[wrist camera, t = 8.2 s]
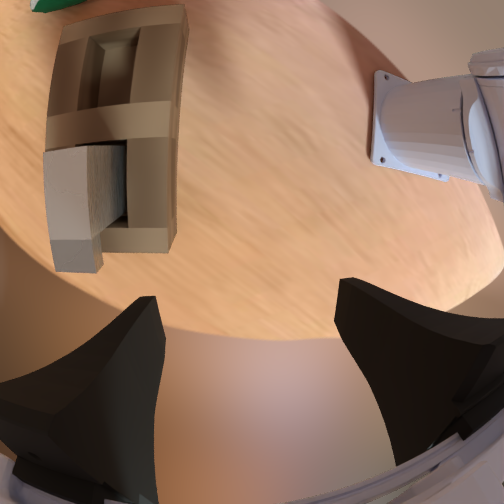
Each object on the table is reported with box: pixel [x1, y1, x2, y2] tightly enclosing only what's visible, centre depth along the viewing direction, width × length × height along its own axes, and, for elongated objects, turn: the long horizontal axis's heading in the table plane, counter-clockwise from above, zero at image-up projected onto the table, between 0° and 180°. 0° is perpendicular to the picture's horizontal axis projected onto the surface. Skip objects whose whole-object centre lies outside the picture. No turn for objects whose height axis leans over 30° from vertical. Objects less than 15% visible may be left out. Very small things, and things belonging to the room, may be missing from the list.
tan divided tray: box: [45, 4, 189, 253], centre depth 14 cm, size 8×15×4 cm, turn 175°
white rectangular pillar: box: [43, 146, 128, 273], centre depth 13 cm, size 2×6×7 cm, turn 175°
